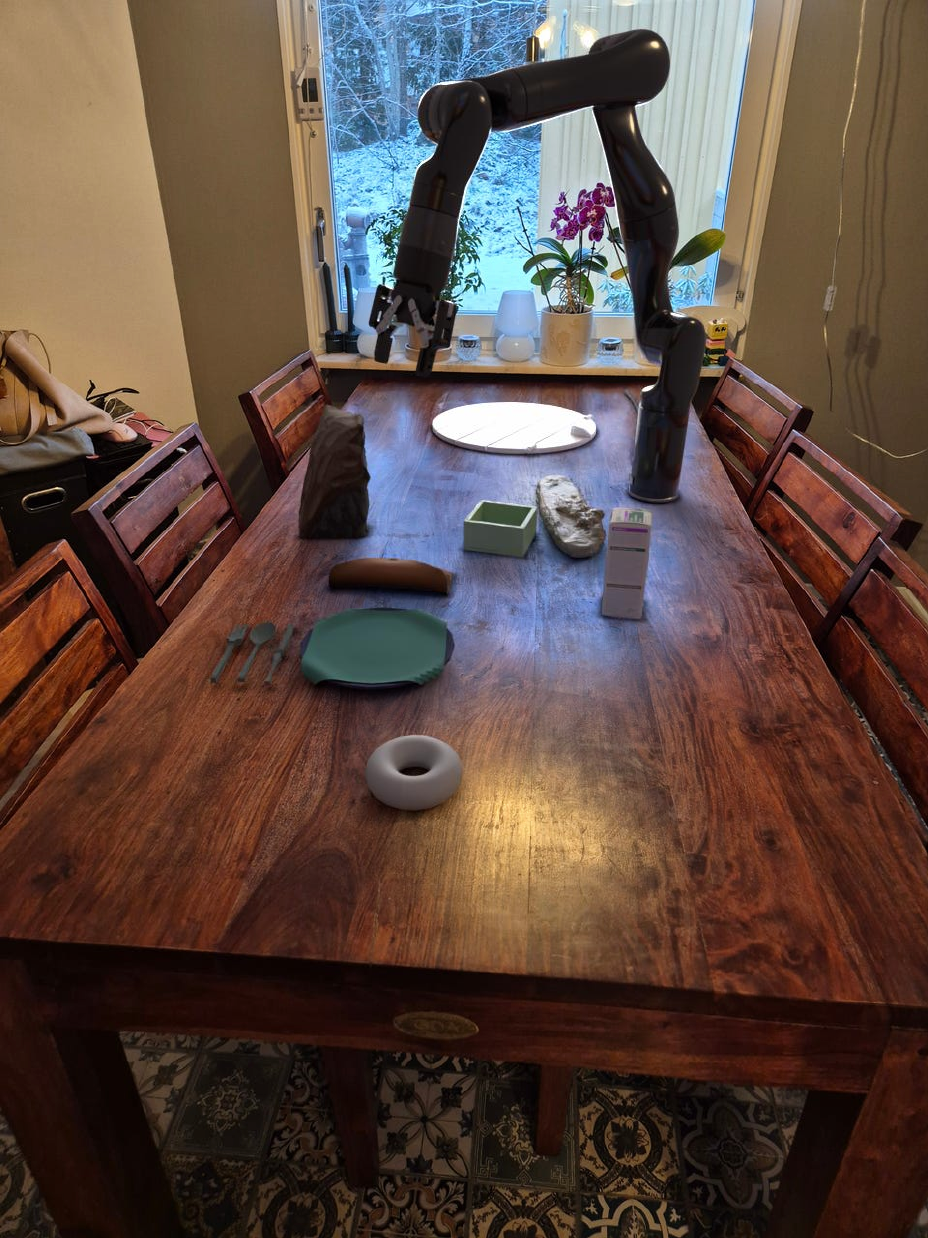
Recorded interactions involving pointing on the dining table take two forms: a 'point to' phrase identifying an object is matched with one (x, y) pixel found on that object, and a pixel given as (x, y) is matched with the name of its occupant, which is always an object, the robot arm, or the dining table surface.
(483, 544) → the socket
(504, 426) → the lazy susan
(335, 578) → the sunglasses case
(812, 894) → the dining table surface
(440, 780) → the donut
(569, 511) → the elongated rock
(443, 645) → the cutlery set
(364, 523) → the dark brown rock
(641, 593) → the syrup box
